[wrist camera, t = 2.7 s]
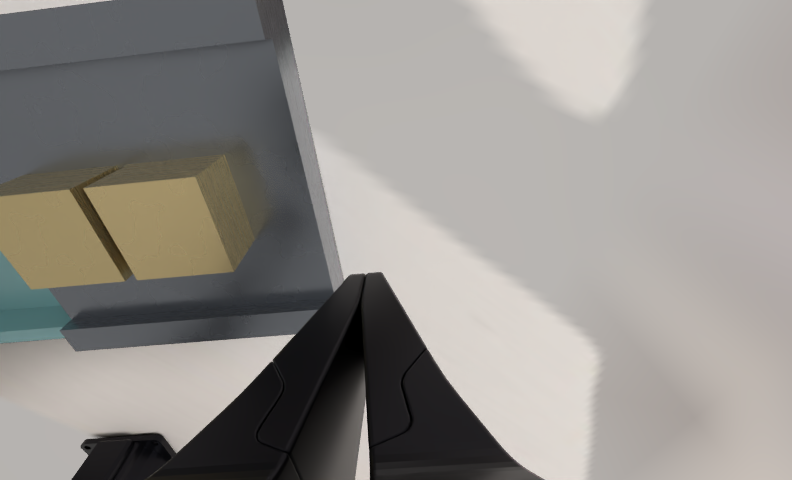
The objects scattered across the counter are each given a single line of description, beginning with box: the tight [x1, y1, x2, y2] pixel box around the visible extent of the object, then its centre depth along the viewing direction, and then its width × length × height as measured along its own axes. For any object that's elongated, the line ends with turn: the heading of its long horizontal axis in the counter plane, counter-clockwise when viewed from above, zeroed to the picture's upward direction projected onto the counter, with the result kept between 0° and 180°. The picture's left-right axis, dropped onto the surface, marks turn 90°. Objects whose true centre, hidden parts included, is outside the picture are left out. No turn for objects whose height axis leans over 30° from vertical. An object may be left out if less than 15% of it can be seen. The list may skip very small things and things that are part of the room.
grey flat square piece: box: [0, 0, 344, 351], centre depth 16 cm, size 14×14×3 cm
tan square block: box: [83, 154, 255, 280], centre depth 14 cm, size 4×4×2 cm
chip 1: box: [0, 165, 133, 290], centre depth 15 cm, size 4×4×2 cm
